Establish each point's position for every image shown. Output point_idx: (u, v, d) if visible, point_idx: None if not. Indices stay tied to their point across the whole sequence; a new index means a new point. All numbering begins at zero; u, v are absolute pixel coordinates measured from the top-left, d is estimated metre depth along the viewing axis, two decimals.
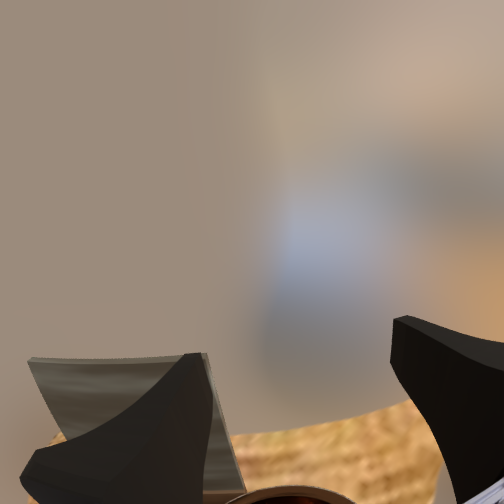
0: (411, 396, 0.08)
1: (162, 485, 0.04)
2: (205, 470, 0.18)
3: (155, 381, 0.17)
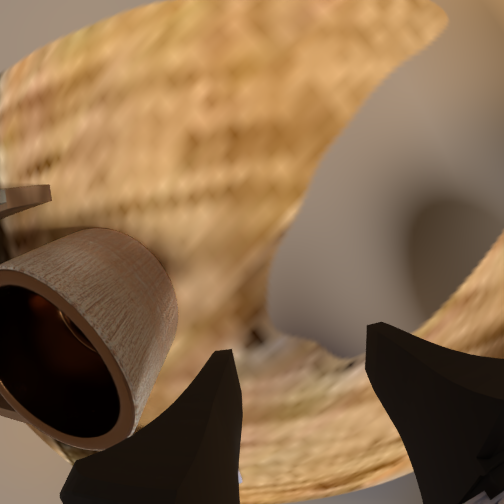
0: (384, 405, 0.08)
1: (213, 487, 0.04)
2: None
3: None
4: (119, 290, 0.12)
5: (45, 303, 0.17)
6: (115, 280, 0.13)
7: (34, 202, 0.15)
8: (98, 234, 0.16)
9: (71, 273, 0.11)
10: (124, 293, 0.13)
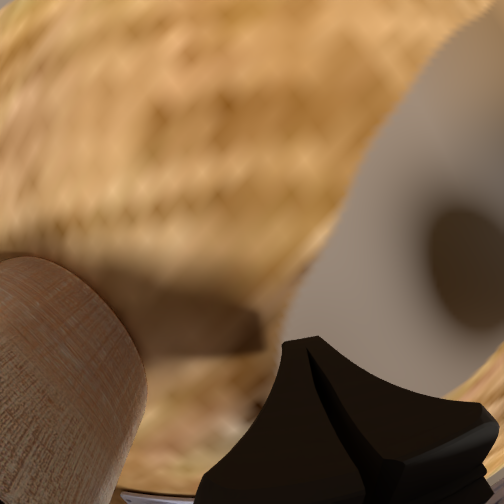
0: None
1: None
2: None
3: None
4: (24, 388, 0.05)
5: None
6: (18, 367, 0.05)
7: None
8: (18, 271, 0.08)
9: None
10: (34, 392, 0.05)
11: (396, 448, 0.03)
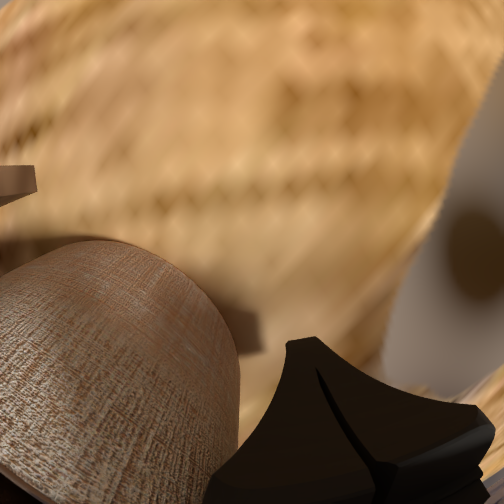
0: None
1: None
2: None
3: None
4: (166, 401, 0.05)
5: None
6: (151, 375, 0.05)
7: (6, 193, 0.08)
8: (100, 255, 0.08)
9: (40, 387, 0.03)
10: (177, 403, 0.05)
11: (390, 450, 0.03)
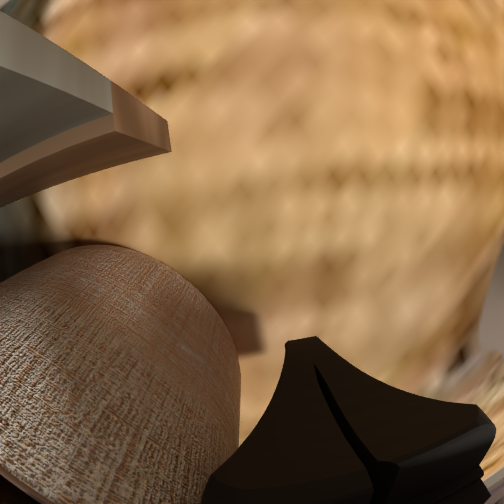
0: None
1: None
2: None
3: None
4: (161, 401, 0.05)
5: None
6: (146, 376, 0.05)
7: (153, 143, 0.08)
8: (96, 259, 0.08)
9: (35, 389, 0.03)
10: (172, 403, 0.05)
11: (391, 450, 0.03)
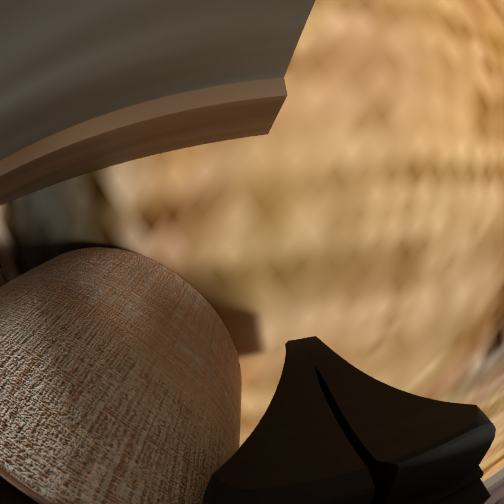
0: None
1: None
2: (76, 32, 0.02)
3: None
4: (158, 402, 0.05)
5: None
6: (143, 377, 0.05)
7: None
8: (94, 261, 0.08)
9: (33, 391, 0.03)
10: (170, 404, 0.05)
11: (390, 450, 0.03)
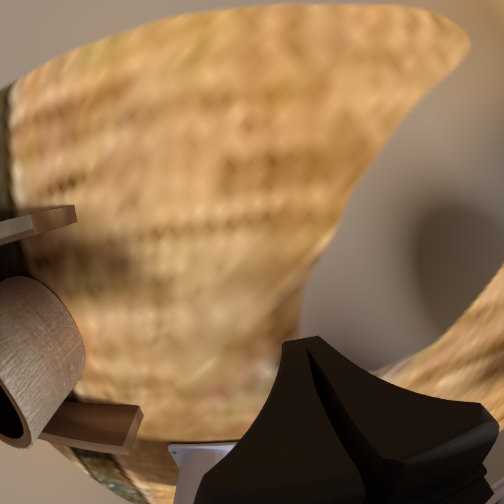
0: None
1: None
2: None
3: None
4: (14, 334, 0.13)
5: None
6: (12, 326, 0.13)
7: (60, 225, 0.16)
8: (13, 284, 0.16)
9: None
10: (18, 336, 0.13)
11: (396, 447, 0.03)
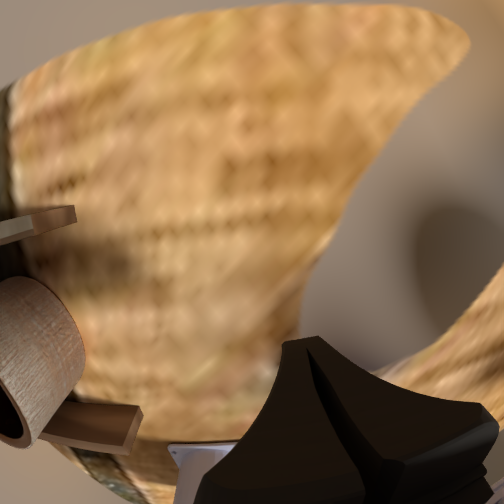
0: None
1: None
2: None
3: None
4: (13, 334, 0.13)
5: None
6: (12, 326, 0.13)
7: (60, 225, 0.16)
8: (13, 284, 0.16)
9: None
10: (18, 336, 0.13)
11: (396, 448, 0.03)
